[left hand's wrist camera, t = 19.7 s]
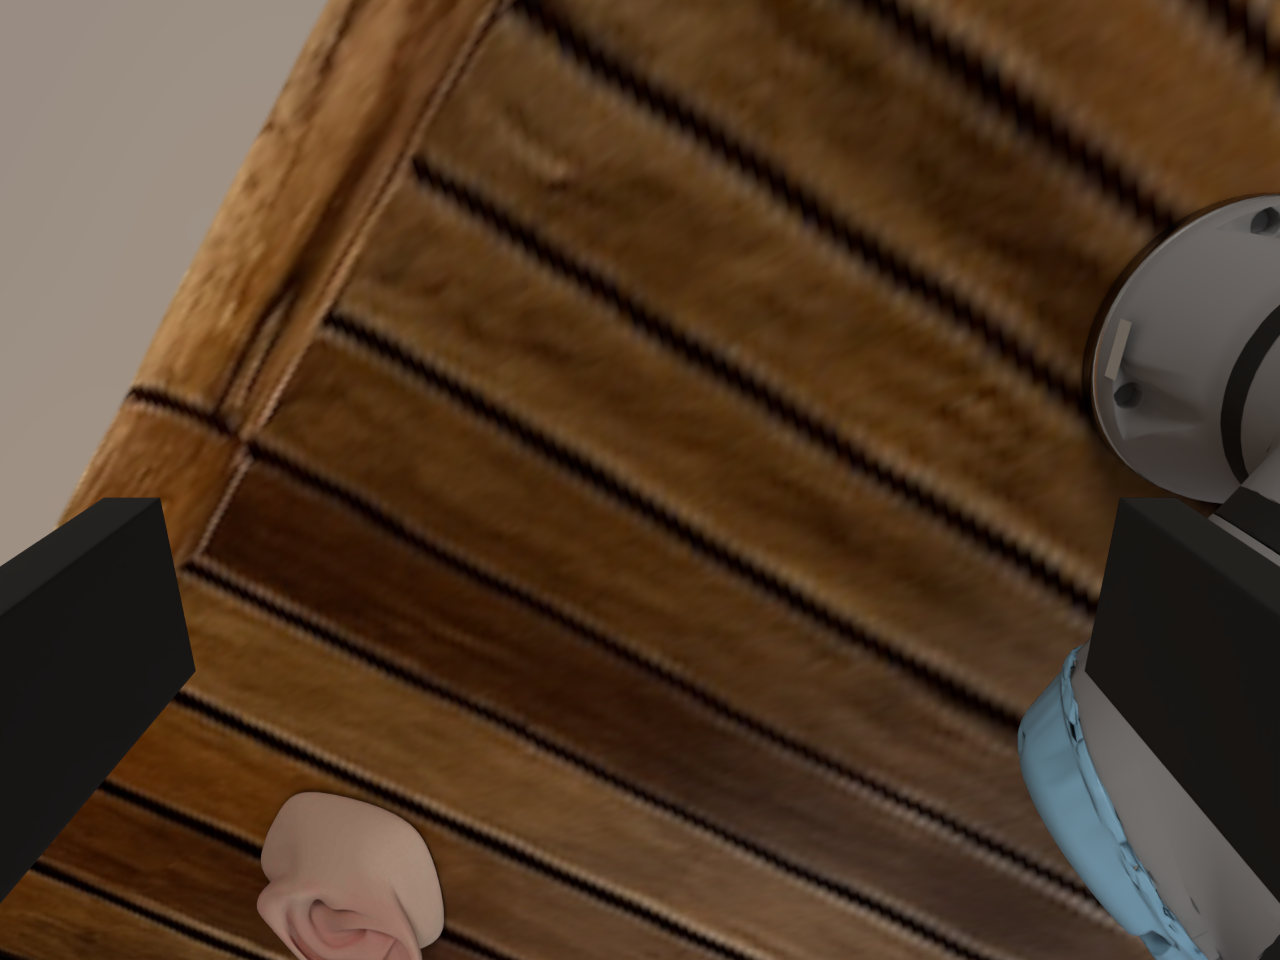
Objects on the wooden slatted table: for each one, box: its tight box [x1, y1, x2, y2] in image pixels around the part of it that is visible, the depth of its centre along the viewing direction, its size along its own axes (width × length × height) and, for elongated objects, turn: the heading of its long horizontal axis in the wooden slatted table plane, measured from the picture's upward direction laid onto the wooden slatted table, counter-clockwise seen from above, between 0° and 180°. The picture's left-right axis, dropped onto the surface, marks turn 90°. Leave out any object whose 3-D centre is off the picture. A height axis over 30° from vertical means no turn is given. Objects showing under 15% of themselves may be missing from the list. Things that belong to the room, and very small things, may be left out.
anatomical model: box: [257, 792, 444, 960], centre depth 56 cm, size 13×4×12 cm
